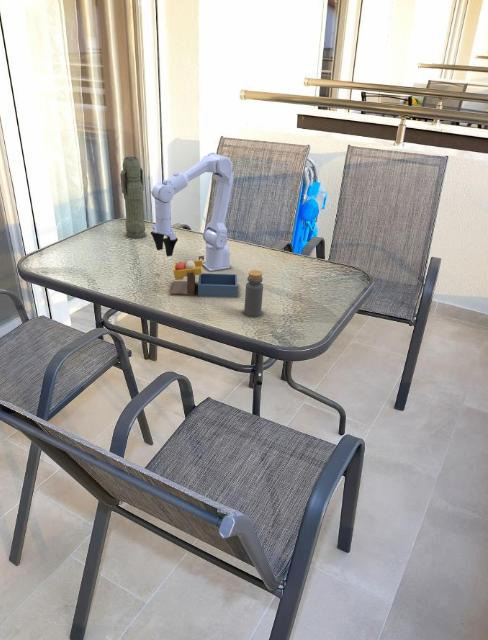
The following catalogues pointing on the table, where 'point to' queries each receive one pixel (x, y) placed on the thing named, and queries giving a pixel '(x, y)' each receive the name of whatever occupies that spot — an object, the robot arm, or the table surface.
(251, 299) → the bottle
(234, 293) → the bin
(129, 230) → the stone statue
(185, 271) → the yellow tray
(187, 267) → the ball cream
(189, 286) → the dish stand
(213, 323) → the table surface
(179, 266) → the ball coral
